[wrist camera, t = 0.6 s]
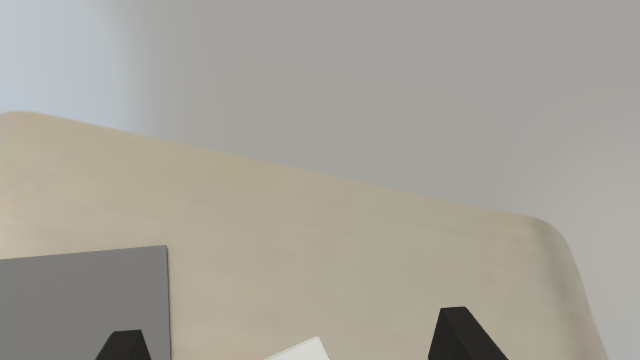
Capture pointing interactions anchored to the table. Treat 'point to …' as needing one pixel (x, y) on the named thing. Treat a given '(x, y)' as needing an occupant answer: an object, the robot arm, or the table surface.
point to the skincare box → (303, 351)
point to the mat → (83, 303)
